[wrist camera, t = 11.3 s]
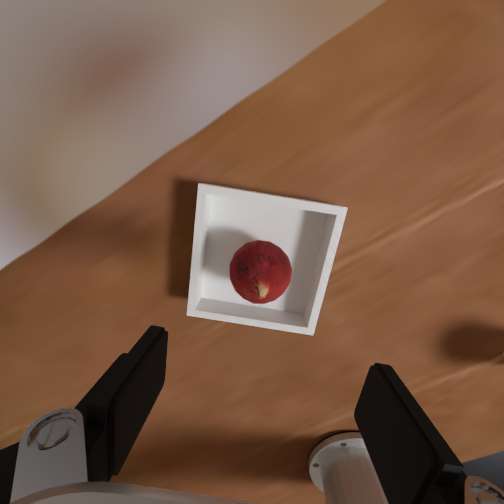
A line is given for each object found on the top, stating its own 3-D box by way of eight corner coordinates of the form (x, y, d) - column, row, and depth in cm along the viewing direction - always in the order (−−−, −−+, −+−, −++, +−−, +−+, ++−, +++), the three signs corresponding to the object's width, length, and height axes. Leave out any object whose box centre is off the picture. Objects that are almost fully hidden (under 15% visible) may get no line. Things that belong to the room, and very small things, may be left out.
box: (335, 204, 24) (347, 207, 21) (306, 317, 28) (313, 335, 25) (207, 183, 24) (198, 183, 21) (195, 299, 28) (186, 315, 25)
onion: (222, 256, 25) (207, 287, 18) (262, 222, 24) (264, 239, 17) (257, 293, 26) (257, 337, 19) (297, 261, 25) (314, 295, 18)
